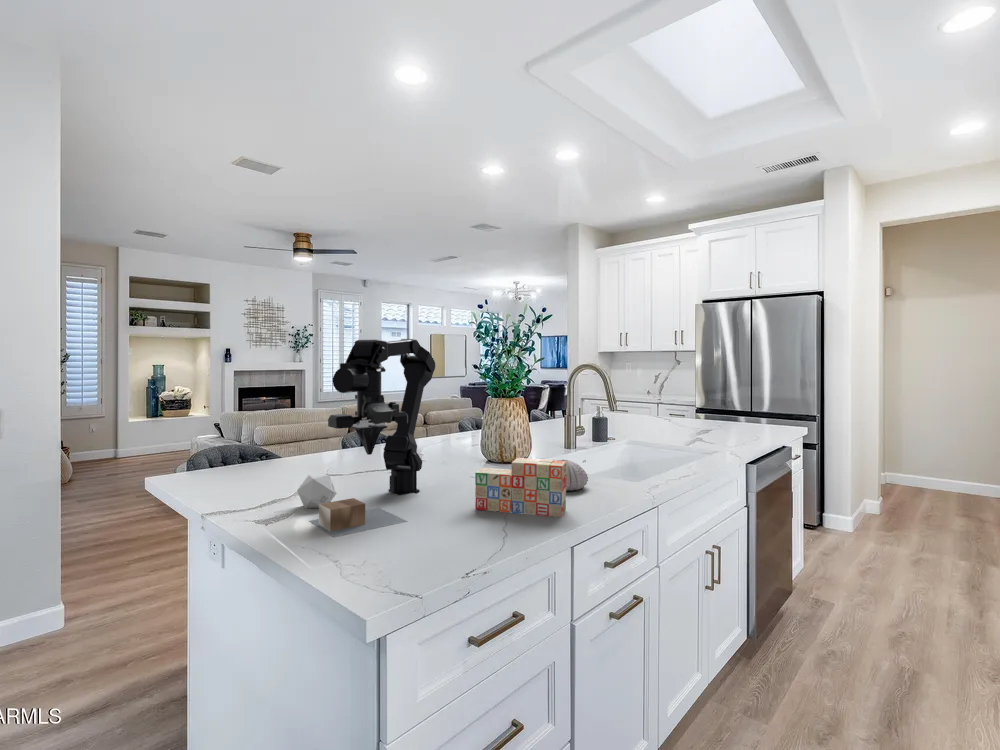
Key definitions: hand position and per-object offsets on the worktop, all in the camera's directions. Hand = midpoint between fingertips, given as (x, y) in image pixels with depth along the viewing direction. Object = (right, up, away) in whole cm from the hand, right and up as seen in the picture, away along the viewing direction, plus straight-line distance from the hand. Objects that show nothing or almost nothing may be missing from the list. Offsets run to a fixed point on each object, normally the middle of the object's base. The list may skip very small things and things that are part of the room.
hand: (369, 454), depth 130 cm
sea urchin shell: (+50, -13, +21) cm, 56 cm away
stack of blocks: (+37, -14, -2) cm, 39 cm away
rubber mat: (+1, -13, -12) cm, 18 cm away
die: (-13, -13, 0) cm, 18 cm away
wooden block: (+1, -11, -12) cm, 16 cm away
